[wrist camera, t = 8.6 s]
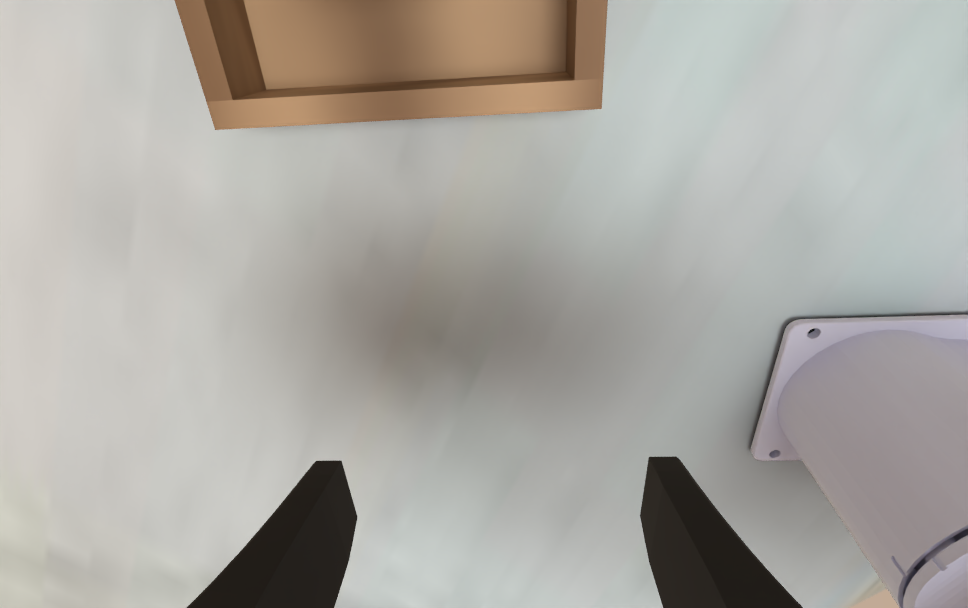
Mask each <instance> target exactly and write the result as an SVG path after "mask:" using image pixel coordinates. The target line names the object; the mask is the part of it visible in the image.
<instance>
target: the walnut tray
mask: <svg viewBox="0 0 968 608" xmlns="http://www.w3.org/2000/svg"><path fill="white" fill-rule="evenodd" d="M607 1H608V0H175V3H176V6H177V9H178V12H179V15H180V19H181V22H182V25H183V28H184V31H185V35H186V38H187V41H188V44H189V47H190V51H191V54H192V57H193V60H194V63H195V67H196V70H197V73H198V76H199V79H200V82H201V86H202V89H203V92H204V95H205V98H206V102H207V105H208V108H209V111H210V114H211V118H212V121H213V124H214V127H215V130H220V129H239V128H257V127H275V126H294V125H312V124H331V123H349V122H367V121H386V120H404V119H423V118H441V117H459V116H478V115H496V114H515V113H533V112H551V111H570V110H588V109H601V108H602V90H603V72H604V54H605V37H606V19H607Z"/></svg>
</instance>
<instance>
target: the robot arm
mask: <svg viewBox="0 0 968 608" xmlns="http://www.w3.org/2000/svg"><path fill="white" fill-rule="evenodd" d="M814 328H815V330H814V331H813V332H811V333H808V332H809V331H810V330H811V329H814ZM807 333H808V334H807ZM773 450H774V451H773ZM751 453H752V455H753V457H754V458H755V459H757V460H761V461H773V460H802V461H803V463H804V464H805V466H806V467H807V469H808V470H809V472H810V473H811V475H812V476H813V478H814V479H815V481H816V482H817V484H818V485H819V487H820V488H821V490H822V491H823V493H824V494H825V496H826V497H827V499H828V500H829V502H830V504H831V505H832V507H833V508H834V510H835V511H836V513H837V514H838V516H839V517H840V519H841V520H842V522H843V523H844V525H845V526H846V528H847V529H848V531H849V532H850V534H851V535H852V537H853V538H854V540H855V541H856V543H857V544H858V546H859V547H860V549H861V550H862V552H863V553H864V555H865V556H866V558H867V559H868V561H869V562H870V564H871V565H872V567H873V568H874V570H875V571H876V573H877V574H878V576H879V577H880V579H881V580H882V582H883V583H884V585H885V586H886V588H887V589H888V591H889V592H890V594H891V595H892V597H893V598H894V600H895V601H896V603H897V604H898V606H899V607H900V608H968V315H935V316H899V317H863V318H828V319H799V320H795V321H793V322H791V323H790V324H789V325H787V327H786V329H785V332H784V335H783V339H782V342H781V345H780V349H779V352H778V356H777V359H776V363H775V366H774V370H773V373H772V377H771V380H770V384H769V387H768V390H767V394H766V397H765V401H764V404H763V408H762V411H761V415H760V418H759V422H758V425H757V429H756V432H755V435H754V439H753V442H752V446H751ZM640 517H641V522H642V527H643V533H644V538H645V543H646V548H647V553H648V558H649V562H650V566H651V569H652V572H653V575H654V579H655V582H656V585H657V588H658V592H659V595H660V598H661V601H662V605H663V608H803V607H802V606H801V605H800V604H799V603H798V602H797V601H796V600H795V599H794V598H793V597H792V596H791V595H790V594H789V593H788V592H787V591H786V589H785V588H784V587H783V586H782V585H781V584H780V583H779V582H778V581H777V580H776V579H775V577H774V576H773V575H772V574H771V573H770V572H769V571H768V570H767V569H766V568H765V566H764V565H763V564H762V563H761V562H760V561H759V560H758V559H757V557H756V556H755V555H754V554H753V553H752V552H751V550H750V549H749V548H748V547H747V546H746V545H745V543H744V542H743V541H742V540H741V538H740V537H739V536H738V535H737V534H736V532H735V531H734V530H733V529H732V528H731V526H730V525H729V524H728V523H727V522H726V520H725V519H724V518H723V517H722V515H721V514H720V513H719V512H718V510H717V509H716V508H715V506H714V505H713V504H712V503H711V501H710V500H709V499H708V497H707V496H706V495H705V493H704V492H703V491H702V489H701V488H700V487H699V485H698V484H697V483H696V481H695V480H694V479H693V477H692V476H691V475H690V473H689V472H688V470H687V469H686V468H685V466H684V465H683V463H682V462H681V461H680V460H679V459H678V458H677V457H649V461H648V467H647V474H646V481H645V487H644V494H643V501H642V507H641V514H640ZM356 521H357V514H356V511H355V507H354V504H353V500H352V497H351V493H350V489H349V486H348V482H347V479H346V475H345V472H344V468H343V465H342V461H316V462H315V463H314V464H313V465H312V466H311V467H310V469H309V470H308V471H307V472H306V474H305V475H304V476H303V477H302V479H301V480H300V481H299V482H298V484H297V485H296V486H295V487H294V489H293V490H292V491H291V492H290V494H289V495H288V496H287V497H286V499H285V500H284V501H283V502H282V503H281V505H280V506H279V507H278V508H277V509H276V511H275V512H274V513H273V514H272V516H271V517H270V518H269V519H268V520H267V521H266V523H265V524H264V525H263V526H262V527H261V528H260V530H259V531H258V532H257V533H256V534H255V535H254V537H253V538H252V539H251V540H250V541H249V542H248V544H247V545H246V546H245V547H244V548H243V549H242V550H241V551H240V552H239V554H238V555H237V556H236V557H235V558H234V559H233V560H232V561H231V562H230V563H229V564H228V565H227V567H226V568H225V569H224V570H223V571H222V572H221V573H220V574H219V575H218V576H217V577H216V578H215V580H214V581H213V582H212V583H211V584H210V585H209V586H208V587H207V588H206V589H205V590H204V591H203V592H202V593H201V594H200V595H199V596H198V597H197V598H196V599H195V600H194V601H193V602H192V603H191V604H190V605H189V606H188V607H187V608H334V606H335V603H336V600H337V597H338V593H339V590H340V587H341V584H342V581H343V578H344V574H345V571H346V568H347V565H348V561H349V557H350V552H351V547H352V542H353V537H354V532H355V526H356Z"/></svg>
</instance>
